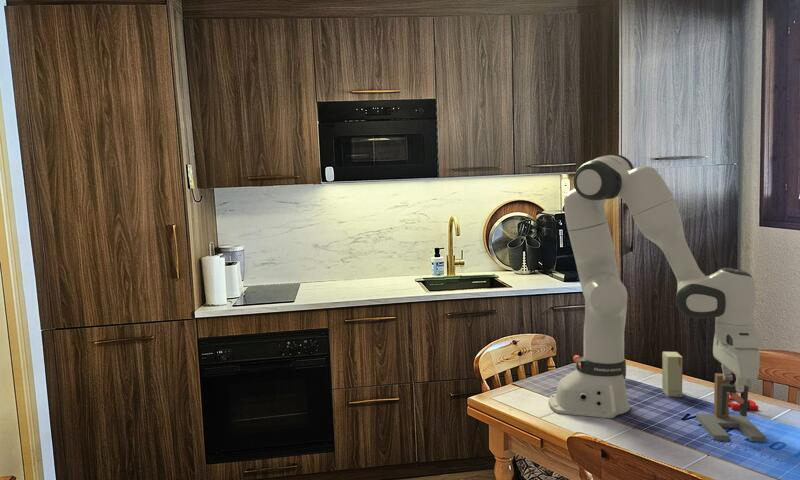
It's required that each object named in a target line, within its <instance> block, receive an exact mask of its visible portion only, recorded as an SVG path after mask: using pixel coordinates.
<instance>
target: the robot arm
mask: <svg viewBox="0 0 800 480" xmlns="http://www.w3.org/2000/svg"><path fill="white" fill-rule="evenodd" d="M573 187H574V188H573V189H571V190H570V191H568V192H567V194H566V195H565V196H564V200H563V208H564V209H563V210H564V216H565V217H564V218H565V224H566V229H567V233H568V236H569V241H570V245H571V249H572V252H573V257H574V260H575V261H574V262H575V265H576V270H577V273H578V279H579V283H580V287H581V291H582V294H583V297H584V319H583V320H584V322H583V355H582V356H581V357H580V355H579V354H578V355H577V354H575V355H574V356H573V358H572V359H573V362H574V363H575V364H576V365H575V366H576V367H575V369H574V370H573V371H572V372H570V373H568V374H567V375H565V376H563V378H561V379H560V380H559V381H558V383H557V388H556V392H555V393H552V394H550V396H548V406H549V408H550V409H551V410H552V411H553V412H555V413H558V414H563V415H574V416H583V417H595V418H603V419H613V418H615V417H616V416H618V415H622V414H626V413H627V412H629V411H630V410H631V406H630V403H629V400H628V395H627V389H626V381H625V380H626V376H627V363H626V359H625V329H626V323H627V322H626V320H627V310H628V291H627V288H626V286H625V285H624V283H623V282H622V279H621V277H620V274H619V273H620V272H619V270H618V264H617V258H616V252H615V246H614V241H613V238H612V234H611V229H610V226H609V222H608V218H607V214H606V210H605V208H606V207H605V203H606V201H607V200H611V199H616V198H617V197H619V198H620V199H622V200H623V202H624V203H625V204H626V207H627V208H628V210H629V213H630V215H631V216H632V220H634V223H635V224H636V226H637V228H638V230H640V231H639V232H641V234H642V235H643V236H644V237H645V238H646V239H648V240H649V241H650V242H652V243H654V244H655V245H656V246H657V247H658V248H660V250H661V251H662V253H663V254H664V257H665V258H666V260H667V262H668V264H669V266H670V268H671V270H672V272H673V274H674V276H675V280H676V295H675V305H676V307H677V309H678V311H679V312H680V313H681V314H682V315H683V316H685V317H687V318H689V319H695V320H697V319H698V320H701V319H713V318H715V319H714V323H715V324H714V336H713V343H712V355H713V358H714V359H715V360H716V361H718V362H719V363H720V364H721V365H720V366H721V370H722V374H723V380H725V381H726V382H729V383H732V382H733V379H734V376H733V375H735V382H734V383H733V385H734V389H735V390H736V391H737V392H744V385H745V383H746V381H747V382H748V381H757V379H758V377H759V374H760V362H761V352H760V350H759V349H762V347H763V341H762V339H761V337H760V335H759V334H758V332H757V329H756V319H755V315H754V314H755V313H754V312H755V309H756V305H757V304H756V303H757V301H756V300H757V292H756V282H755V279H754V277H753V275H751V274H750V272H747V271H745V270H742V269H739V268H738V269H737V268H732V267H721V268H720V269H719V270H717V271H715V272H714V273H711V274H709V275H707V274H706V273H704V271H702V269H701V267H699V265H698V263H697V261H696V259H695V257H694V255H693V253H692V250H691V249H690V247H689V245H688V243H687V240H686V237H685V233H684V232H685V231H684V226H683V219H682V216H681V213H680V210H679V207H678V204H677V201H676V200H675V198H674V196H673V194H672V191H671V190H670V188H669V186H668V185H667V183H666V182H665V180H664V179H663V178H662V176H661V175H660V173H659V172H658V171H657V170H656V168H654V167H652V166H649V165H642V166H637V167H634V164H633V163H632V162H631V160H630V159H628V158H627V157H625V156H623V155H621V154H616V153H614V154H608V155H602V156H598V157H596V158H594V159H591V160H588V161H586V162H585V163H583V164H581V165H580V166H579V167H578V168H577V169H576V171H575V174H574V176H573ZM732 373H733V374H732Z"/></svg>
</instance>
